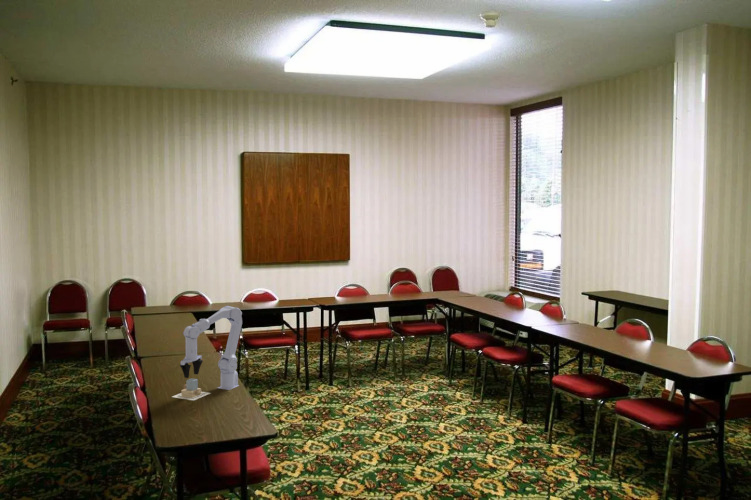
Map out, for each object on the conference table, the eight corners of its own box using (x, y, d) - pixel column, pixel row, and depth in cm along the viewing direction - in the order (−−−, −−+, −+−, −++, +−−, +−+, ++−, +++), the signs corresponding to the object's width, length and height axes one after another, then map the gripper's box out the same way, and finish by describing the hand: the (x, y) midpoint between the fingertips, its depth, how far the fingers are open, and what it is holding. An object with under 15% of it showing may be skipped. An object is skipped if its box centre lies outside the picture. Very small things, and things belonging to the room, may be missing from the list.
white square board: (189, 390, 339) (189, 389, 339) (211, 393, 333) (211, 392, 333) (171, 397, 326) (171, 396, 326) (193, 400, 320) (193, 400, 320)
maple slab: (190, 392, 334) (190, 386, 334) (201, 394, 331) (201, 388, 331) (181, 395, 328) (181, 390, 327) (192, 397, 325) (192, 391, 325)
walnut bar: (192, 387, 344) (193, 382, 344) (197, 388, 343) (197, 382, 343) (183, 390, 336) (183, 384, 336) (187, 391, 335) (188, 385, 335)
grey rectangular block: (191, 387, 332) (191, 378, 331) (197, 388, 330) (197, 379, 330) (186, 389, 328) (186, 380, 328) (192, 390, 327) (192, 381, 326)
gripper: (194, 346, 336) (194, 371, 337) (175, 351, 323) (175, 378, 324) (205, 347, 333) (205, 373, 334) (186, 353, 320) (187, 380, 321)
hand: (191, 375), depth 329 cm, fingers open, 7 cm apart
